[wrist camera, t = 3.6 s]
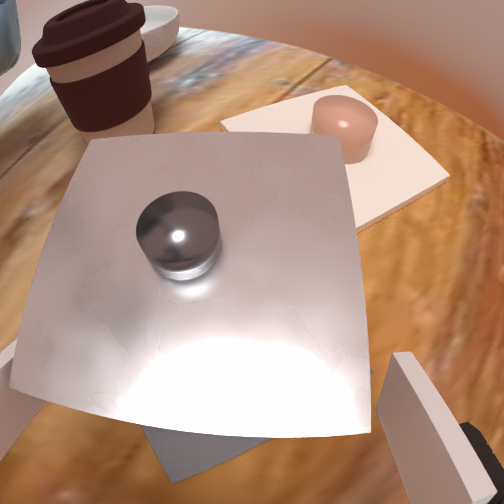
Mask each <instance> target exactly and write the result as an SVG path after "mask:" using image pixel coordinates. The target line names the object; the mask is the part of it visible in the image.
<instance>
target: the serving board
mask: <svg viewBox="0 0 504 504" xmlns="http://www.w3.org/2000/svg"><path fill="white" fill-rule="evenodd" d="M328 95H343V96H348V97H352V98H355V99H357V100H359V101H361V102H363V103H365V104H366V105H368V106H369V107H370V108H371V109H372V110H373V111H374V112H375V113H376V115H377V117H378V125H377V128H376V131H375V134H374V137H373V140H372V143H371V146H370V149H369V152H368V155H367V157H366V158H365V159H364V160H362V161H361V162H358V163H355V164H345V168H346V173H347V178H348V183H349V189H350V194H351V200H352V206H353V212H354V218H355V225H356V231H357V233H358V232H360V231H362V230H364V229H366V228H367V227H369V226H371V225H373V224H374V223H376V222H378V221H380V220H381V219H383V218H385V217H387V216H388V215H390V214H392V213H394V212H395V211H397V210H399V209H401V208H402V207H404V206H406V205H408V204H409V203H411V202H413V201H415V200H416V199H418V198H420V197H421V196H423V195H425V194H427V193H428V192H430V191H432V190H433V189H435V188H437V187H438V186H440V185H442V184H443V183H445V182H446V181H447V180H448V178H449V176H450V174H449V173H448V172H447V171H446V170H445V169H444V168H443V167H442V166H441V165H440V164H439V163H438V162H437V161H436V160H435V159H434V158H433V157H431V156H430V155H429V154H428V153H427V152H426V151H425V150H424V149H423V148H422V147H421V146H420V145H419V144H418V143H417V142H415V141H414V140H413V139H412V138H411V137H410V136H409V135H408V134H407V133H405V132H404V131H403V130H402V129H401V128H400V127H399V126H397V125H396V124H395V123H394V122H393V121H391V120H390V119H389V118H388V117H387V116H385V115H384V114H383V113H382V112H381V111H379V110H378V109H377V108H376V107H374V106H373V105H372V104H371V103H369V102H368V101H367V100H365V99H364V98H363V97H361V96H360V95H359V94H358V93H356V92H355V91H353V90H352V89H351V88H349V87H348V86H347V85H344V86H340V87H336V88H331V89H327V90H323V91H319V92H315V93H311V94H307V95H303V96H300V97H296V98H292V99H289V100H285V101H282V102H278V103H275V104H271V105H268V106H265V107H262V108H258V109H255V110H252V111H249V112H246V113H243V114H240V115H237V116H234V117H231V118H228V119H225V120H222V121H220V125H221V130H222V131H223V132H275V133H297V134H310V127H311V120H312V113H313V106H314V103H315V102H316V101H317V100H318V99H319V98H321V97H324V96H328Z"/></svg>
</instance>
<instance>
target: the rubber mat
mask: <svg viewBox="0 0 504 504" xmlns="http://www.w3.org/2000/svg"><path fill="white" fill-rule="evenodd" d="M372 374H373V372H372V370H371V369H370V375H372ZM140 425H141V427H142V429H143V431H144V433H145V435H146V437H147V439H148V441H149V443H150V445H151V447H152V449H153V450H154V452H155V454H156V456H157V458H158V460H159V462H160V463H161V465H162V467H163V469H164V471H165V472H166V474H167V476H168V478H169V479H170V481H171V483H172V484H173V483H176V482H179V481H181V480H184V479H186V478H189V477H191V476H194V475H196V474H198V473H201V472H203V471H205V470H208V469H210V468H212V467H214V466H217V465H219V464H221V463H223V462H225V461H227V460H230V459H232V458H234V457H236V456H238V455H240V454H242V453H244V452H246V451H248V450H250V449H252V448H254V447H256V446H258V445H260V444H261V443H263V442H265V441H267V440H269V439H271V438H273V437H253V436H234V435H220V434H209V433H199V432H190V431H182V430H174V429H167V428H161V427H154V426H148V425H143V424H140Z"/></svg>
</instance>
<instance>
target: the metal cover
mask: <svg viewBox="0 0 504 504" xmlns="http://www.w3.org/2000/svg"><path fill="white" fill-rule="evenodd" d="M9 388H11V389H14V390H17V391H19V392H22V393H25V394H28V395H31V396H34V397H36V398H39V399H43V400H46V401H49V402H52V403H55V404H58V405H62V406H65V407H69V408H72V409H76V410H80V411H83V412H87V413H91V414H95V415H99V416H104V417H108V418H113V419H117V420H122V421H127V422H132V423H137V424H143V425H148V426H154V427H161V428H167V429H174V430H182V431H190V432H199V433H209V434H220V435H234V436H253V437H318V436H337V435H351V434H362V433H371V391H370V364H369V345H368V331H367V318H366V306H365V296H364V286H363V277H362V269H361V260H360V253H359V245H358V238H357V231H356V225H355V218H354V212H353V206H352V200H351V194H350V189H349V183H348V178H347V173H346V168H345V163H344V158H343V153H342V148H341V143H340V139H339V137H338V136H326V135H313V134H297V133H275V132H182V133H161V134H146V135H132V136H121V137H111V138H101V139H92V140H91V141H90V143H89V145H88V147H87V149H86V151H85V152H84V154H83V156H82V158H81V160H80V162H79V164H78V166H77V169H76V171H75V173H74V175H73V177H72V179H71V181H70V183H69V186H68V188H67V190H66V192H65V194H64V197H63V199H62V201H61V204H60V206H59V208H58V211H57V213H56V216H55V218H54V221H53V223H52V226H51V228H50V231H49V234H48V236H47V239H46V242H45V244H44V247H43V250H42V253H41V256H40V259H39V262H38V265H37V268H36V271H35V274H34V277H33V281H32V284H31V287H30V291H29V294H28V298H27V301H26V305H25V309H24V313H23V317H22V321H21V325H20V329H19V334H18V338H17V343H16V348H15V353H14V359H13V364H12V370H11V376H10V383H9Z"/></svg>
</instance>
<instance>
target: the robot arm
mask: <svg viewBox="0 0 504 504" xmlns="http://www.w3.org/2000/svg"><path fill="white" fill-rule="evenodd" d="M20 53H21V37H20V28H19V20H18V13H17V6H16V0H0V76H1V75H3V74H4V73H6V72H7V71H9V70H10V69H11V68H13V67H14V66H15V64H16V63H17V61H18V60H19V57H20ZM16 343H17V339H16V340H15V341H13V342H12V343H11V344H10V345H9V346H7V347H6V348H5V349H4V350H3V351H1V352H0V461H1V460H2V458H3V457H4V456H5V454H6V453H7V452H8V450H9V449H10V448H11V446H12V445H13V444H14V442H15V441H16V440H17V438H18V437H19V436H20V435H21V433H22V432H23V431H24V429H25V428H26V427H27V426H28V424H29V423H30V422H31V421H32V419H33V418H34V417H35V416H36V414H37V413H38V412H39V411H40V409H41V408H42V407H43V406H44V404H45V403H46V402H47V401H46V400H43V399H39V398H36V397H34V396H31V395H28V394H25V393H22V392H19V391H17V390H14V389H11V388H9V383H10V376H11V370H12V364H13V359H14V353H15V348H16ZM376 412H377V415H378V418H379V420H380V423H381V425H382V428H383V431H384V433H385V436H386V439H387V441H388V444H389V447H390V450H391V452H392V455H393V458H394V461H395V463H396V466H397V469H398V472H399V475H400V477H401V480H402V483H403V486H404V489H405V492H406V495H407V498H408V501H409V504H504V469H503V467H502V466H501V464H500V462H499V461H498V459H497V458H496V456H495V454H493V453H492V449H491V448H490V446H489V445H487V442H486V440H485V438H484V437H483V435H482V434H481V432H480V431H479V430H478V429H477V428H475V427H474V426H473V425H471V424H470V423H469V422H465V423H461V424H458V423H457V421H456V419H455V418H454V416H453V415H452V413H451V411H450V410H449V408H448V407H447V405H446V403H445V402H444V400H443V399H442V397H441V396H440V394H439V393H438V391H437V390H436V388H435V386H434V385H433V383H432V382H431V380H430V379H429V377H428V376H427V374H426V373H425V371H424V370H423V368H422V367H421V366H420V364H419V363H418V361H417V360H416V358H415V357H414V355H413V354H412V352H396V353H392V356H391V359H390V363H389V367H388V370H387V374H386V378H385V381H384V384H383V388H382V391H381V394H380V398H379V401H378V404H377V407H376Z"/></svg>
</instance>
